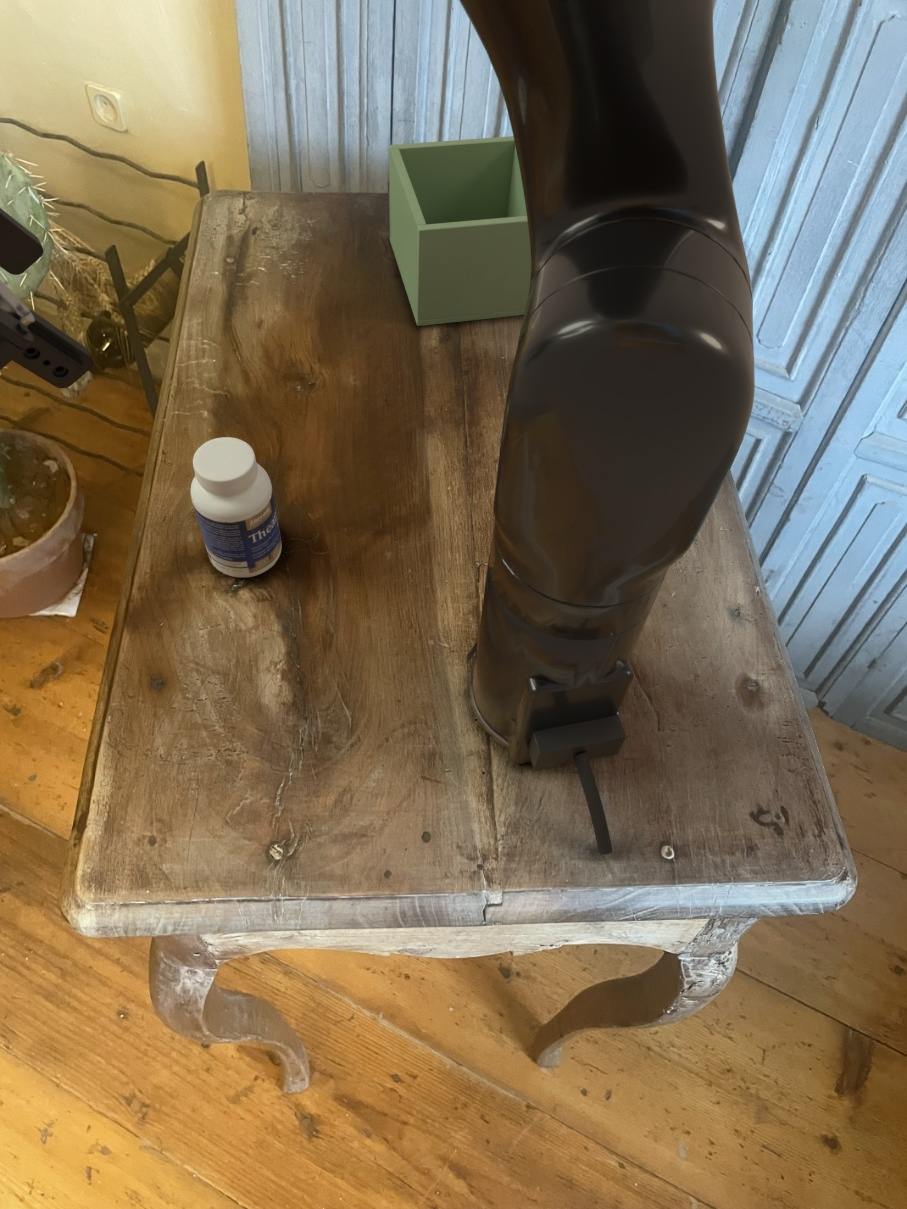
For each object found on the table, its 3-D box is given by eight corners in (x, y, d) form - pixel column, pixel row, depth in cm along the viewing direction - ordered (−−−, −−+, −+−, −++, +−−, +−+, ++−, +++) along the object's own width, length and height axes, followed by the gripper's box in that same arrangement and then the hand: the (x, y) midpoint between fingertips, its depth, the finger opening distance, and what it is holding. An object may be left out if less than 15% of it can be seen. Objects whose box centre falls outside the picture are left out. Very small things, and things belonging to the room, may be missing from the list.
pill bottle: (269, 586, 62) (250, 496, 54) (198, 572, 63) (168, 480, 55) (292, 530, 65) (277, 436, 57) (224, 517, 66) (199, 422, 58)
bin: (548, 312, 82) (563, 217, 74) (417, 326, 80) (418, 230, 72) (510, 229, 89) (521, 135, 81) (389, 240, 87) (388, 144, 79)
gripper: (-233, 73, 24) (158, 363, 39) (-291, -143, 30) (67, 179, 45) (-403, 245, 25) (38, 464, 40) (-427, 6, 31) (-36, 272, 46)
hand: (53, 313), depth 42 cm, fingers open, 8 cm apart
